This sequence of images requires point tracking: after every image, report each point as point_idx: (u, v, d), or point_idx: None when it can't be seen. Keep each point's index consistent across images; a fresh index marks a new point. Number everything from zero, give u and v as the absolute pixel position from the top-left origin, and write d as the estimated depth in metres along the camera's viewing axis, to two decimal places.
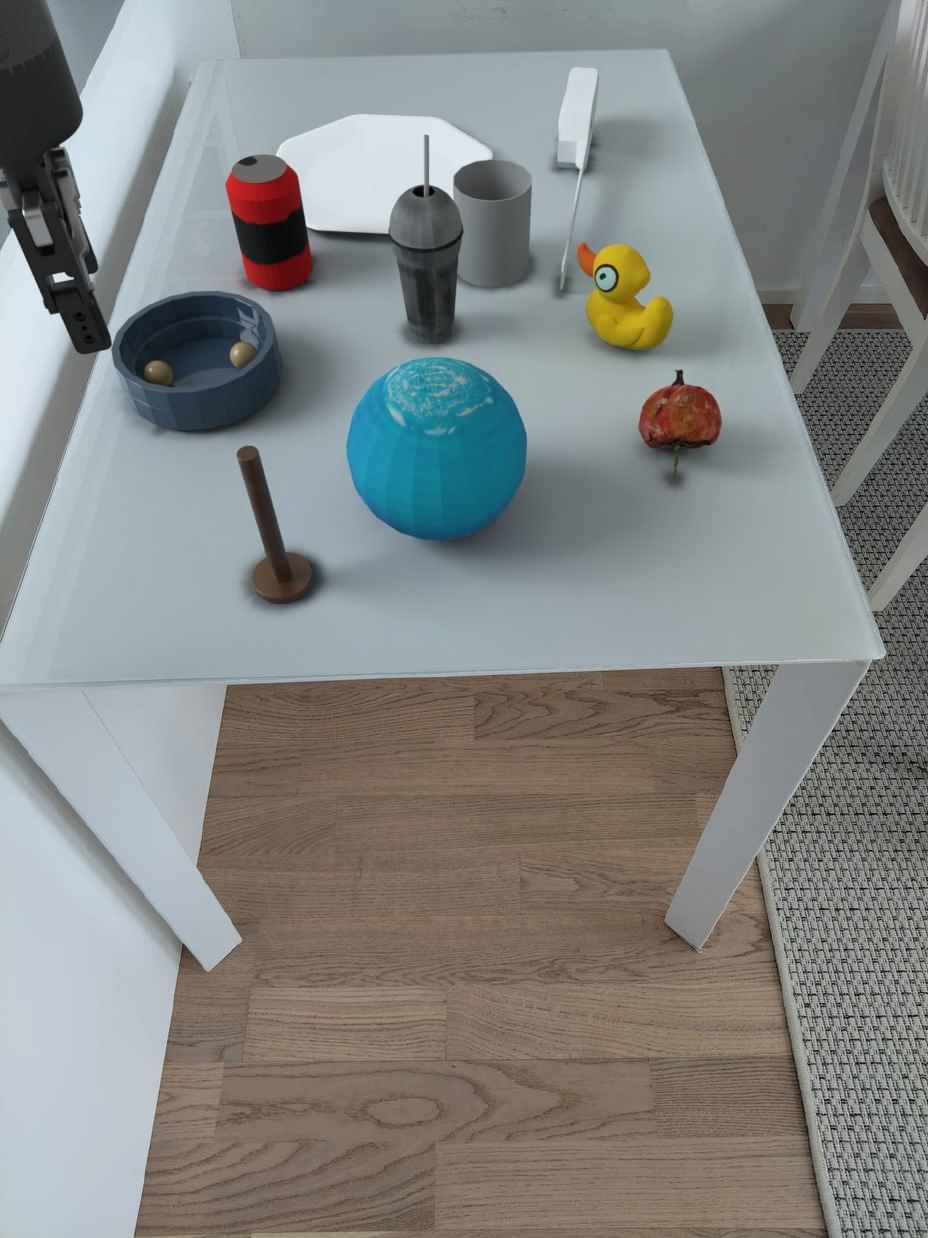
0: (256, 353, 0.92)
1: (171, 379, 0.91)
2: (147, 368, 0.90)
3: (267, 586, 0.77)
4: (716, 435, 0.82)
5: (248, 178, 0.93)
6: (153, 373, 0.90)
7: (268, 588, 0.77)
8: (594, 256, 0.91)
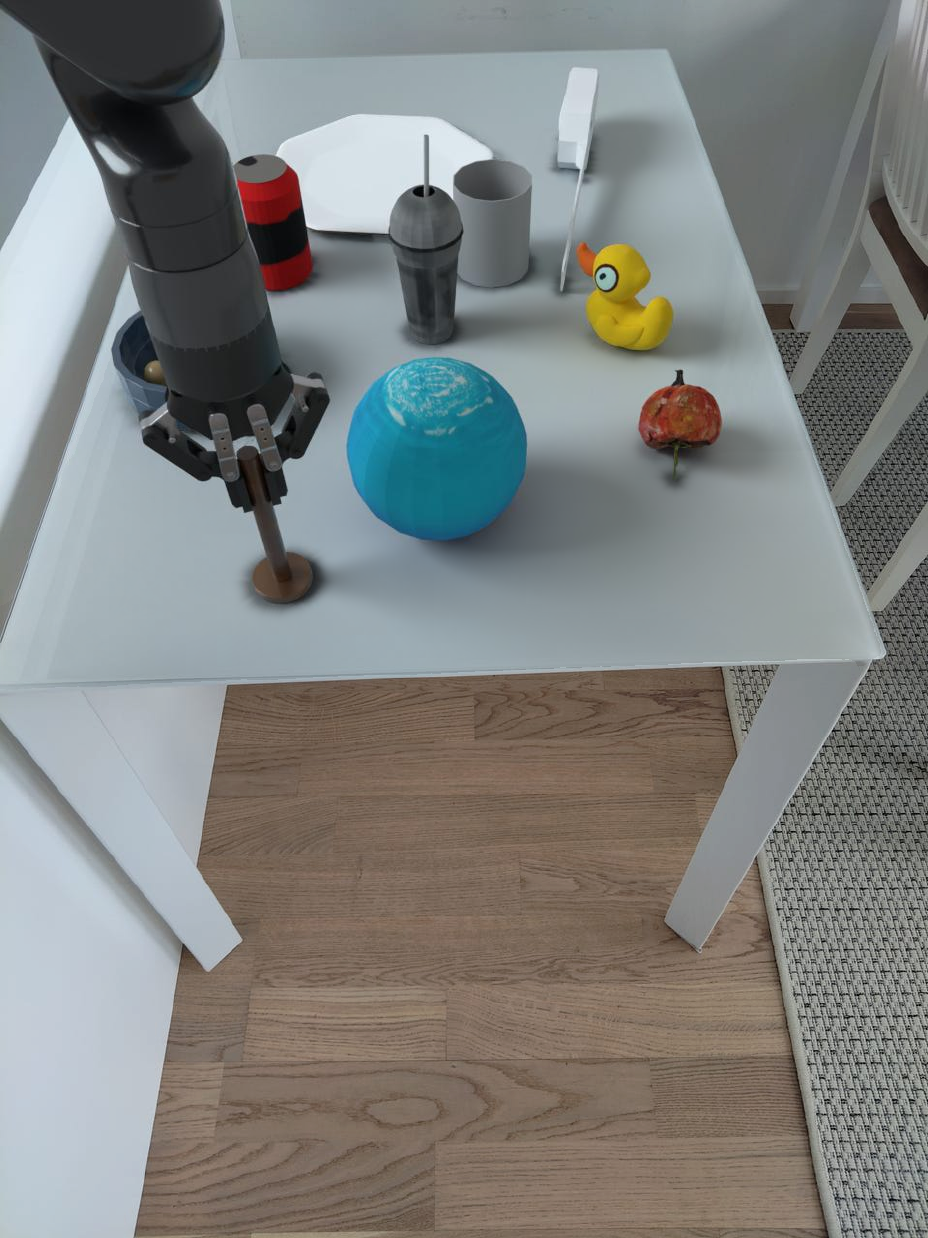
0: None
1: None
2: (147, 368, 0.90)
3: (267, 586, 0.77)
4: (716, 435, 0.82)
5: (248, 178, 0.93)
6: (153, 373, 0.90)
7: (268, 588, 0.77)
8: (594, 256, 0.91)
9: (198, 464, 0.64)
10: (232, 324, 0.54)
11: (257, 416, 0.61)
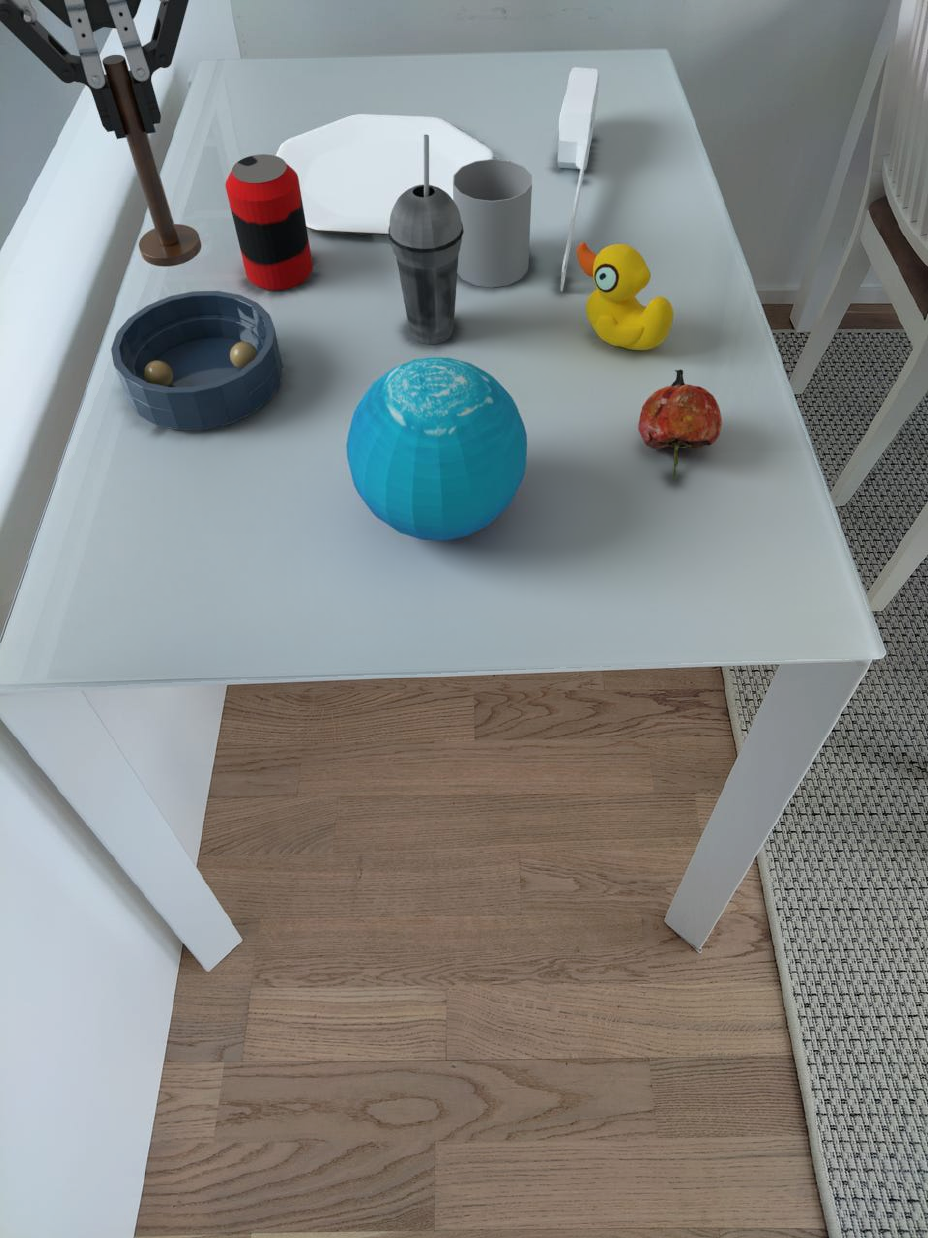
0: (256, 353, 0.92)
1: (171, 379, 0.91)
2: (147, 368, 0.90)
3: (153, 249, 0.76)
4: (716, 435, 0.82)
5: (248, 178, 0.93)
6: (153, 373, 0.90)
7: (153, 250, 0.76)
8: (594, 256, 0.91)
9: (59, 57, 0.63)
10: None
11: None
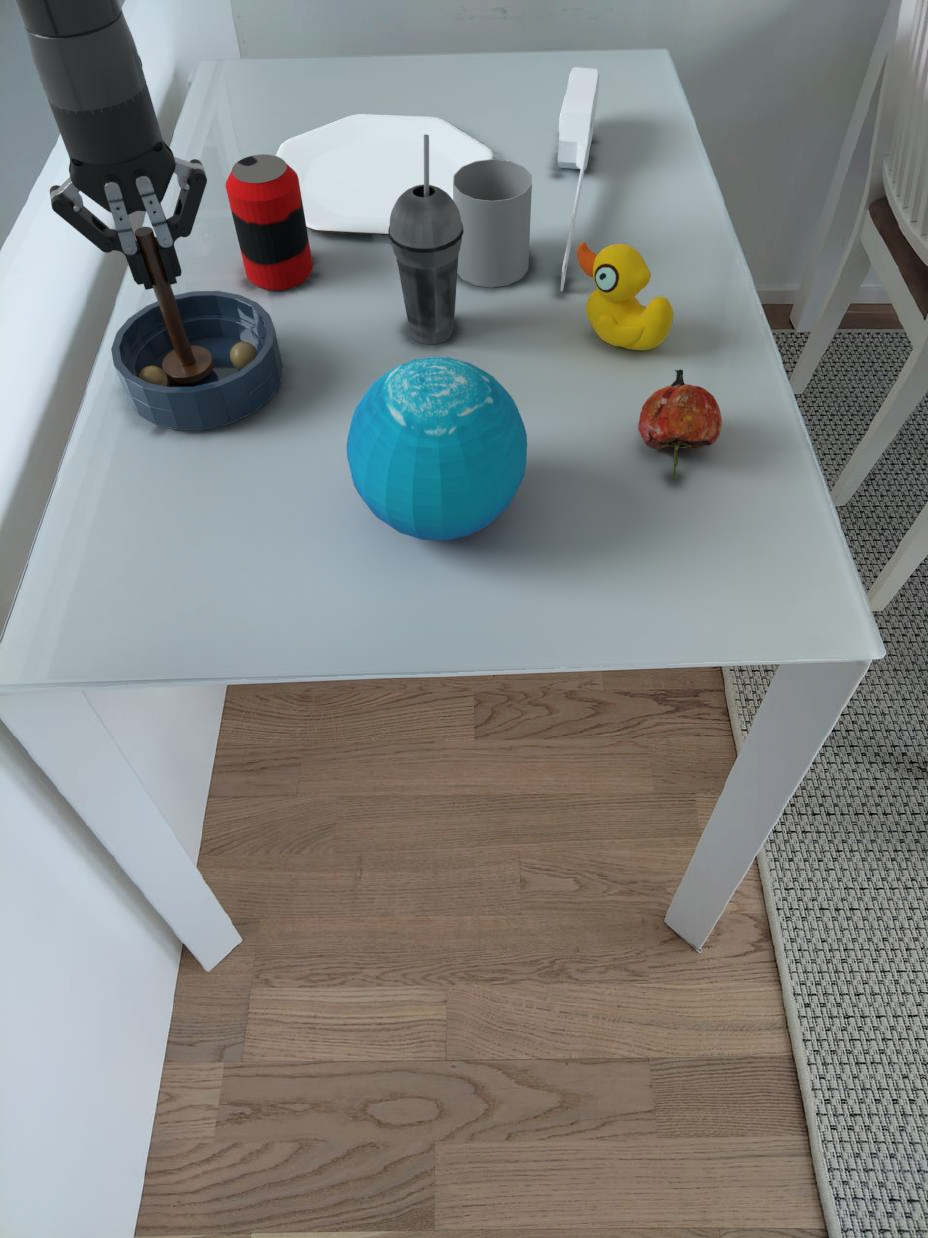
0: (256, 353, 0.92)
1: (164, 383, 0.90)
2: None
3: (174, 369, 0.91)
4: (716, 435, 0.82)
5: (248, 178, 0.93)
6: None
7: (174, 370, 0.91)
8: (594, 256, 0.91)
9: (100, 234, 0.78)
10: (112, 89, 0.68)
11: (145, 187, 0.76)
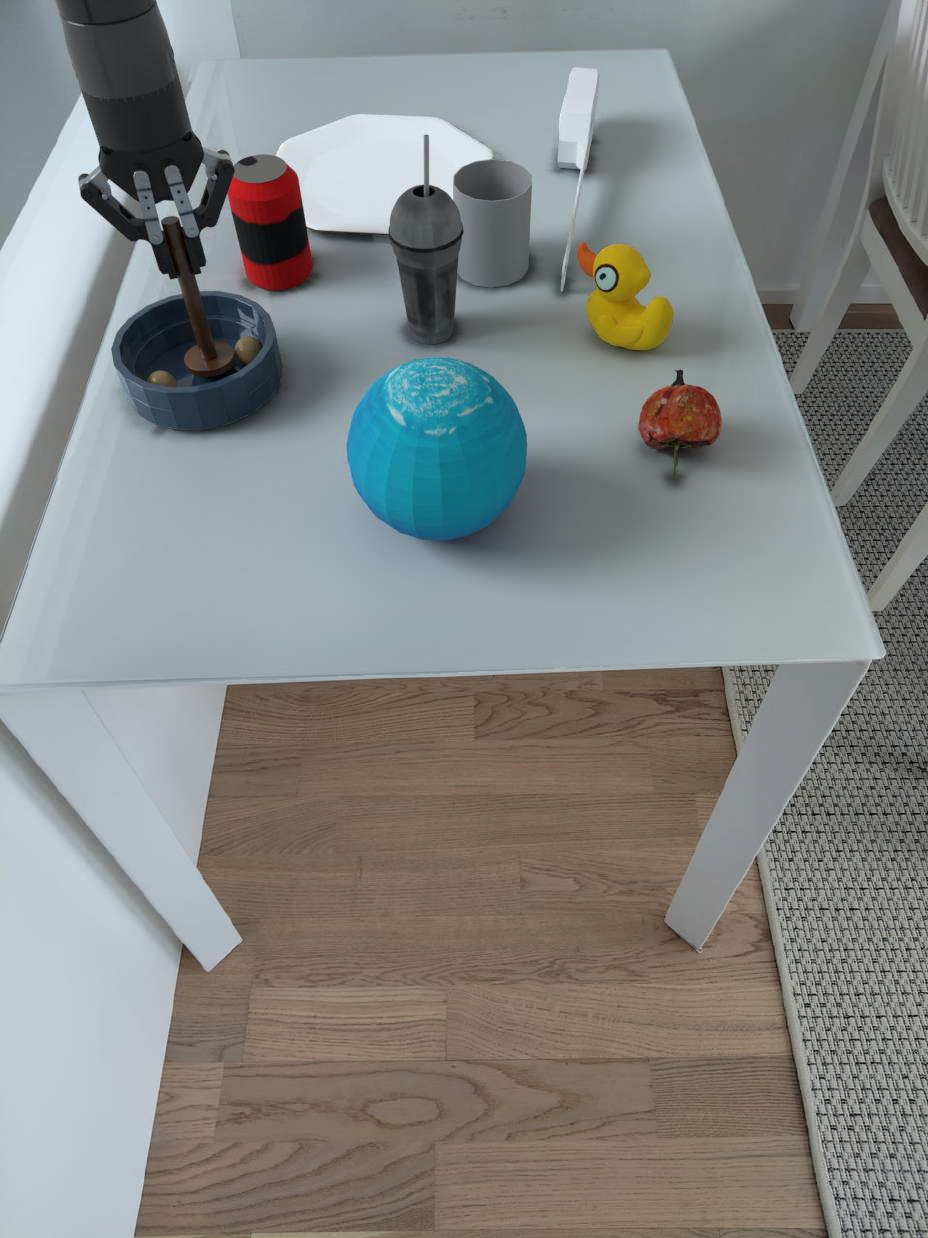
0: None
1: None
2: None
3: (194, 362, 0.91)
4: (716, 435, 0.82)
5: (248, 178, 0.93)
6: (147, 380, 0.89)
7: (194, 363, 0.91)
8: (594, 256, 0.91)
9: (128, 223, 0.79)
10: (144, 77, 0.69)
11: (173, 177, 0.76)
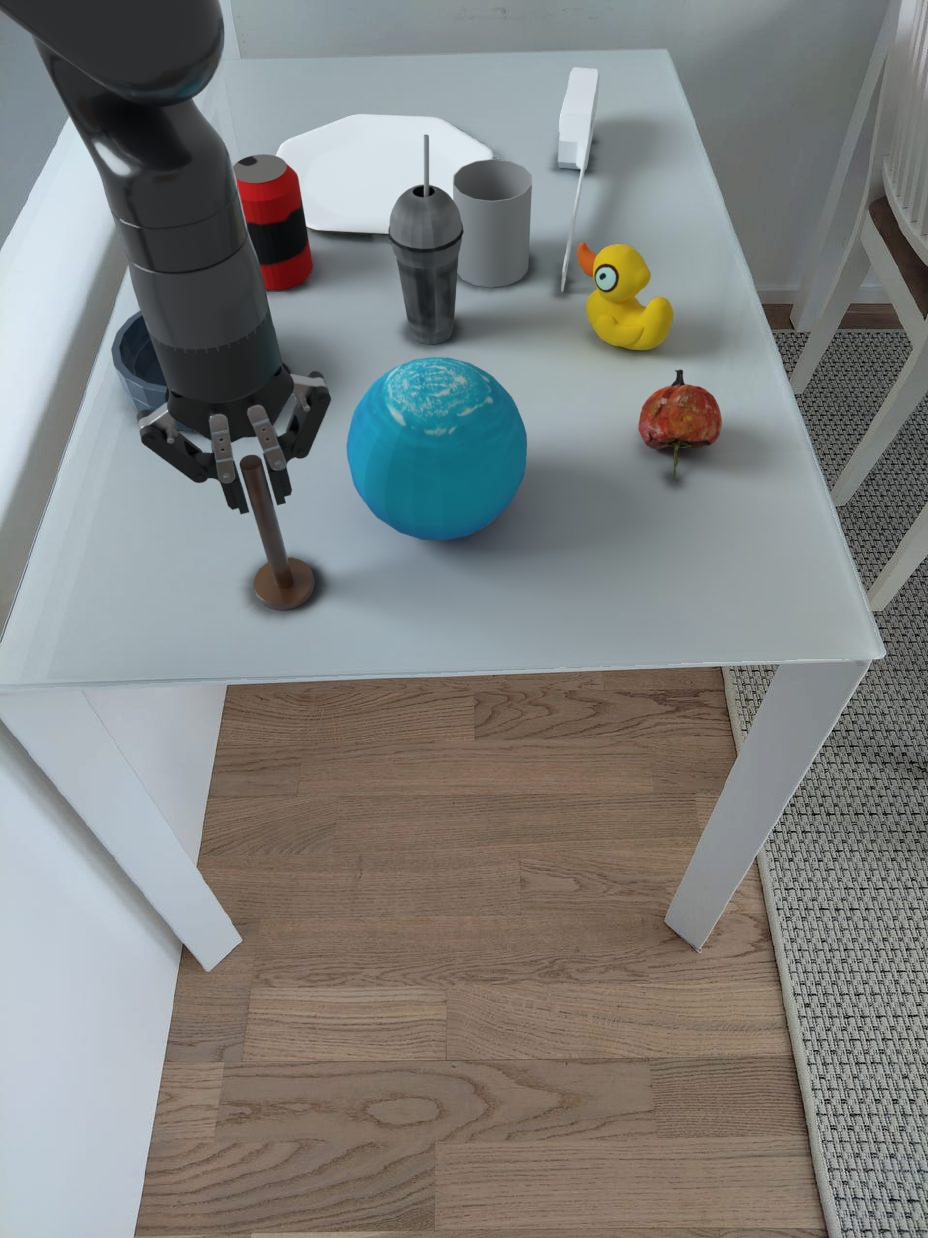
0: None
1: None
2: None
3: (266, 590, 0.76)
4: (716, 435, 0.82)
5: (248, 178, 0.93)
6: None
7: (267, 592, 0.76)
8: (594, 256, 0.91)
9: (195, 465, 0.64)
10: (232, 325, 0.54)
11: (257, 417, 0.62)
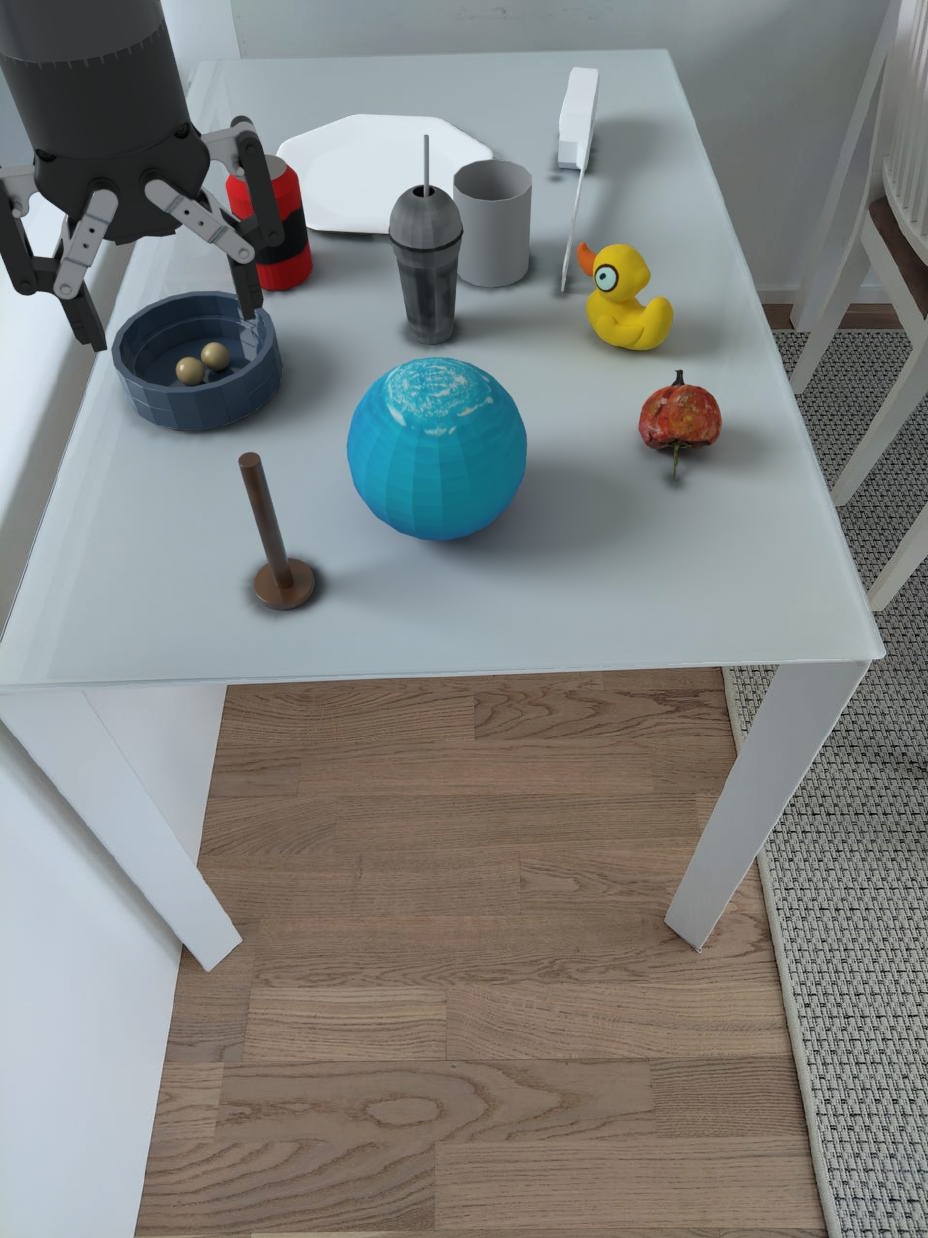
0: (204, 355, 0.91)
1: (199, 373, 0.91)
2: None
3: (266, 590, 0.77)
4: (716, 435, 0.82)
5: None
6: None
7: (267, 592, 0.76)
8: (594, 256, 0.91)
9: (28, 266, 0.47)
10: (104, 24, 0.38)
11: (164, 197, 0.46)
